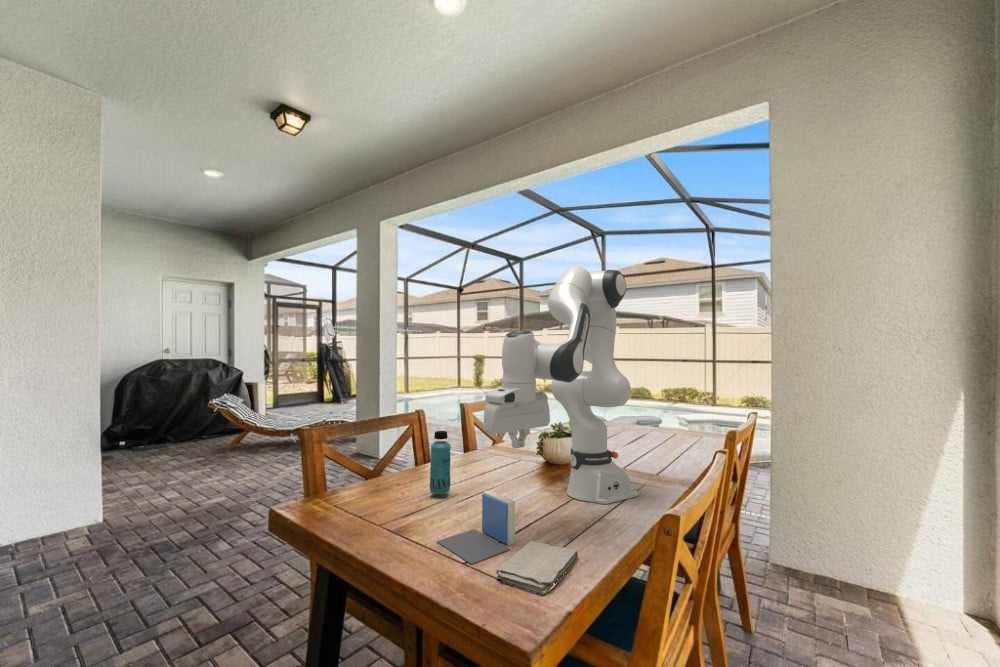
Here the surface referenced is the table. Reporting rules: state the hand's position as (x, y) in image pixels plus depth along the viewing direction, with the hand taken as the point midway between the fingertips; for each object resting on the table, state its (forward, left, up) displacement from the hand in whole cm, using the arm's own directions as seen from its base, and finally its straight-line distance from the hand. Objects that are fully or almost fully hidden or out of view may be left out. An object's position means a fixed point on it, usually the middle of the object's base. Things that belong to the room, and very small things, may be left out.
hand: (518, 447), depth 114 cm
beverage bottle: (+13, -32, -21) cm, 40 cm away
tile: (+6, +2, -21) cm, 22 cm away
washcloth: (+3, +20, -22) cm, 29 cm away
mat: (+13, +5, -21) cm, 25 cm away
